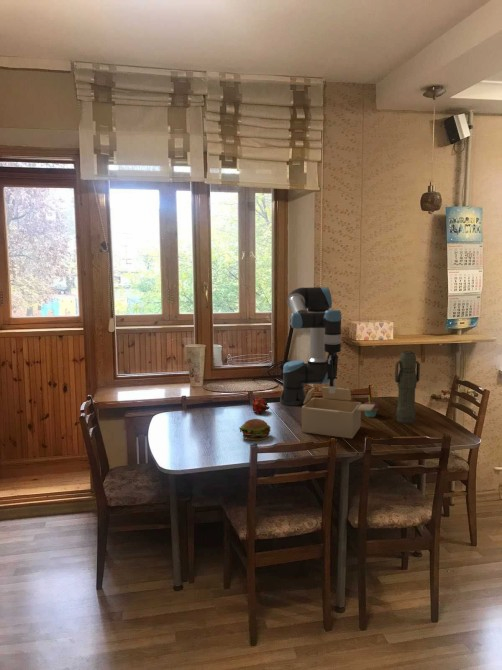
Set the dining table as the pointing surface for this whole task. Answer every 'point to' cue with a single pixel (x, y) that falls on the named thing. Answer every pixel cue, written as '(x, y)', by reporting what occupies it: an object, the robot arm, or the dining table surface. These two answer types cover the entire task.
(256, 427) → the food
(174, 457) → the dining table surface
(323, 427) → the carton
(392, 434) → the dining table surface
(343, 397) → the flap far
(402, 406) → the thermos
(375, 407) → the cupcake
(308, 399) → the flap arm end
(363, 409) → the flap far end
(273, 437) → the dining table surface
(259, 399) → the dragon fruit
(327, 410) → the flap near
